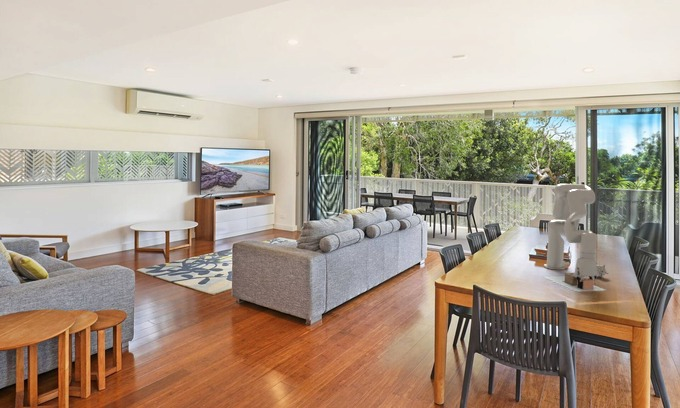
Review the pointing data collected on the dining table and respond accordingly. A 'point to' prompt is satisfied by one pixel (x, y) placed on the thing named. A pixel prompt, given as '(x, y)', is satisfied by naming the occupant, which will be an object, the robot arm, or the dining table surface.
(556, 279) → the blueprint board
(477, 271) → the dining table surface
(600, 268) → the grey spiky ball
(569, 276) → the walnut block
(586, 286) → the terracotta block
